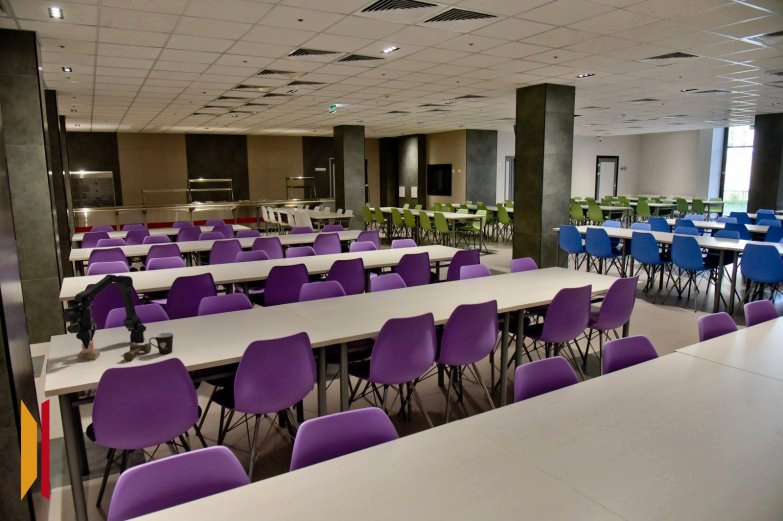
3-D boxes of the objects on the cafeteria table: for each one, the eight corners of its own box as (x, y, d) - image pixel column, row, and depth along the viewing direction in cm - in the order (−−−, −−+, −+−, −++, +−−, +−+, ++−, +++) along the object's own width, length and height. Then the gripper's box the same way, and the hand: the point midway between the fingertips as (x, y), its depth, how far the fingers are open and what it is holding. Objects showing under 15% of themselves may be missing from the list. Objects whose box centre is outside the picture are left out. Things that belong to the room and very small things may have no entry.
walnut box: (100, 355, 280) (99, 348, 279) (95, 360, 272) (94, 353, 272) (83, 356, 278) (82, 349, 277) (78, 362, 270) (77, 354, 270)
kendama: (118, 362, 270) (138, 348, 290) (137, 363, 270) (155, 349, 290) (118, 351, 269) (137, 338, 289) (136, 351, 269) (154, 338, 289)
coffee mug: (178, 351, 286) (176, 333, 284) (166, 356, 277) (165, 337, 276) (160, 348, 289) (159, 331, 288) (148, 353, 281) (147, 335, 280)
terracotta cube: (95, 349, 278) (94, 340, 277) (93, 352, 273) (92, 343, 272) (84, 350, 276) (83, 341, 275) (82, 353, 271) (81, 344, 270)
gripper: (71, 314, 277) (74, 342, 280) (63, 323, 260) (66, 353, 263) (95, 312, 281) (98, 340, 284) (88, 321, 264) (91, 351, 266)
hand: (88, 346), depth 274 cm, fingers open, 9 cm apart
